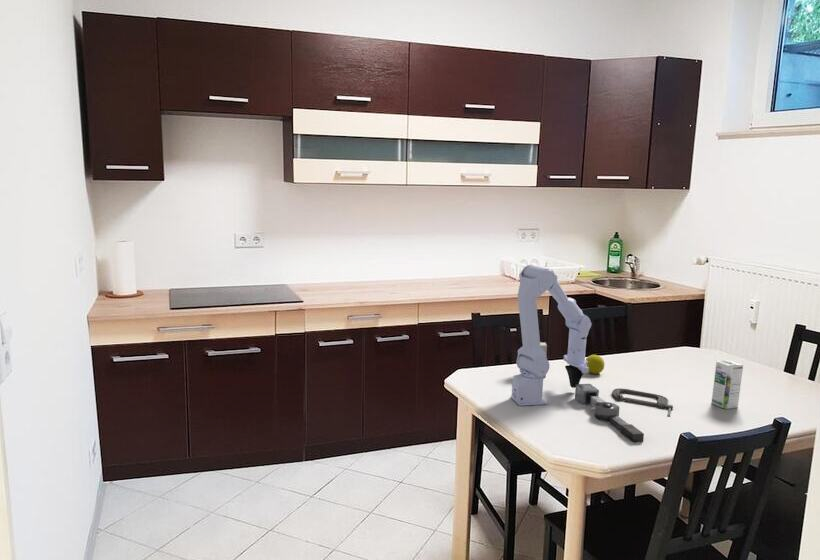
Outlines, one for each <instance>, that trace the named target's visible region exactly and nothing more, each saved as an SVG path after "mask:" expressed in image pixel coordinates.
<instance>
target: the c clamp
mask: <svg viewBox="0 0 820 560" xmlns="http://www.w3.org/2000/svg"><path fill="white" fill-rule="evenodd" d="M623 394H628V395H633V396H639V397H643V398H644V397H645V398H650V399H655V400H656V401H657V402H655V401H648V400H644V399H638V398H633V397H632V398H631V397H626V396H625V397H624V396H623ZM611 395H612V396H613V397H614V398H615V399H616V401H617V402H624V401H625V402H626V403H627V402H628V403H633V404H638V405H643V404H644V405H645V406H649V407H656V408H657V409H663V410H664V409H667V411H668V412H667V417H669V418H670V417H671V412H672V410H673V408H674V405H672V404H668V403H669V399H668V398H667V397H666V396H663V395H660V394H656V393H650V392H644V391H640V390H633V389H629V388H614V389H612V391H611Z"/></svg>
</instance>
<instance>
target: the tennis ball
mask: <svg viewBox="0 0 820 560" xmlns="http://www.w3.org/2000/svg"><path fill="white" fill-rule="evenodd" d="M585 360H587V361H588V363H586V365H587V367H589V372H588V373H589V374H593V375H597V374H600V373H602V371H603V370H604V369H605V361H604V359H603V357H602V356H600V355H597V354H591V355H588V356H587V357H586V358H585Z"/></svg>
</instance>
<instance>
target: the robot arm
mask: <svg viewBox="0 0 820 560" xmlns="http://www.w3.org/2000/svg"><path fill="white" fill-rule="evenodd" d="M518 277H519V286H518V291H517V302H518V311H519V320H520V331H521V342H522V346H520V348H518V350H517V358H516V362H515V363H516V366H517V368H518V369H519V374H515V375H513V376H512V381H511V395H510V398H511V399H512V400H513V401H514V402H515V403H516V405H518V406H537V405H538V406H540V405H547V402H546V400H544V398H543V387H544V378H546V377H545V375H546V376H547V374H548V373H549V370H550V361H549V360H548V357H546V353H545V351H544V350H543V349H542V347H541V346H540V342H541V339H540V338H541V337H540V329H539V328H540V326H539V317H538V306H537V304H538V303H537V299H538V297H541V296H542V295H543V294H544V293H546V292H548V293H549V294H550V295H551V296H552V298H553V299H554V300H555V301H556V303H557V309H558V311H559V312H560V314H561V315H562V317H564V319H565V326H566V327H567V328H568V329H569V331H568V345H567V354H564V355H563V361H565V362H566V364H568V365H565V367H564V369H565V370H566V372H567V375H568V376H567V377H568V380H569V386H570V387H571V388H572V389H574V388H575V389H576V384H580V382H581V379H582V377H583V375H584V374H589V373H590V372H589V367H587V365H586V363H588V361H587V360H586V349H587V348H586V347H587V337H588V335H589V332H590V329H591V327H592V324H593V323H592V322H591V321H592V320H591V319H590V317H589V316H588V315H586V314H584V313H583V310H582V308H580V307H579V306H578V304H577V301H576V299H575V298H572V297H568V296H567V294H566V292H565V291H564V289H563V288H562V285H561V284H560V282H559V281H558V275H556V274H555V272H554V270H553V269H552V268H545V267H541V266H535V265H533V264H528V265H526V266H524V267H523V269H522V270H521V271H520V272H519V274H518Z"/></svg>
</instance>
